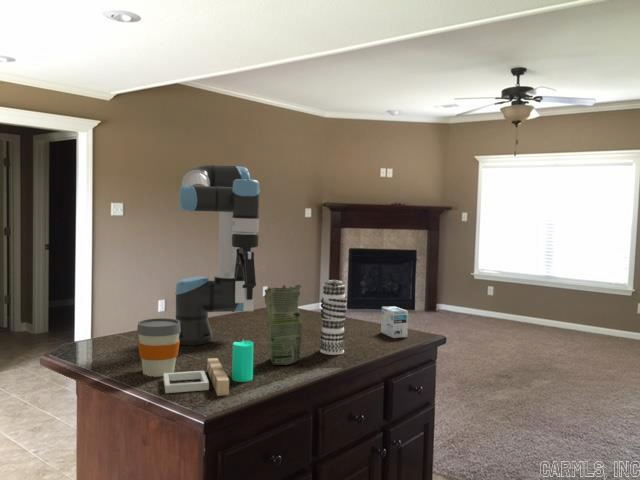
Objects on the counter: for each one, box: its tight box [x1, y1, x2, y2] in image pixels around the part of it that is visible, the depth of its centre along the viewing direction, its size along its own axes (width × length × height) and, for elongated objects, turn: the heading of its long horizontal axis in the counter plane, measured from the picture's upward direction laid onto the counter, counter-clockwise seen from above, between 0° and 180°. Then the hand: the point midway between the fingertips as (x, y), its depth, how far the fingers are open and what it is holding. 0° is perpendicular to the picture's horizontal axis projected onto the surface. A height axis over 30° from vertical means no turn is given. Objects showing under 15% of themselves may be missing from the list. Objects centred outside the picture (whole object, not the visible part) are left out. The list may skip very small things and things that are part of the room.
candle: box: [231, 340, 254, 383], centre depth 161 cm, size 6×6×12 cm
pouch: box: [264, 284, 303, 366], centre depth 180 cm, size 11×12×25 cm
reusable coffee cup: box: [136, 317, 181, 378], centre depth 165 cm, size 13×13×15 cm
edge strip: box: [206, 357, 230, 397], centre depth 157 cm, size 22×3×4 cm, turn 18°
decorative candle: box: [319, 279, 348, 356], centre depth 194 cm, size 9×9×25 cm
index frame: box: [162, 370, 210, 394], centre depth 154 cm, size 11×11×2 cm
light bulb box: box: [380, 305, 409, 339], centre depth 223 cm, size 11×7×11 cm, turn 22°
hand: (243, 306), depth 160 cm, fingers open, 13 cm apart
